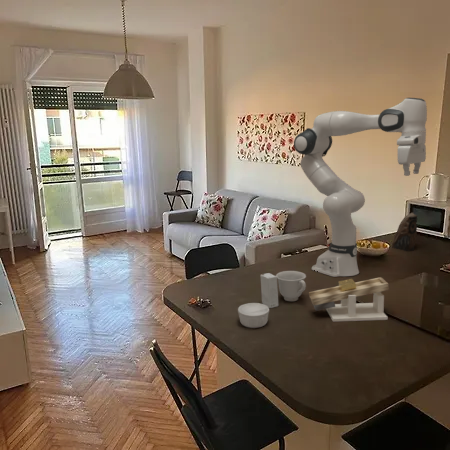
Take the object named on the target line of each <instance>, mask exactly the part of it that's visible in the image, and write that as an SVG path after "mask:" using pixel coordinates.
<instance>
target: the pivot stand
mask: <svg viewBox="0 0 450 450" xmlns="http://www.w3.org/2000/svg"><path fill="white" fill-rule="evenodd" d="M372 294H373V295H372V296H373V298H372V302H365V303H364V302H359V303H357V297H356V295H348V298H347V299H342V300H340V303H335V307H332V308H327V309H325V311H326V312H327V314H328V315H329V317H330V319H331V321H332V322H356V321H357V322H359V321H386V320H387V321H388V318H389V317H388V315H387V314H386V313H385V312H384V309H385V308H384V307H385V305H384V304H385V295H384V294H383V293H382V291H381V292H376V293H372Z"/></svg>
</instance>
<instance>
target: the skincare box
mask: <svg viewBox="0 0 450 450" xmlns="http://www.w3.org/2000/svg"><path fill="white" fill-rule="evenodd" d="M259 275H260V287H261V288H260V289H261V290H260V291H261V304H264V305H266V306H268V308H269V309H272V308H278V307H279V286H278V279H277V277H276V275H274V274H272V273H270V272H268V273H262V274H259Z"/></svg>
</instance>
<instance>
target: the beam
mask: <svg viewBox="0 0 450 450" xmlns="http://www.w3.org/2000/svg"><path fill="white" fill-rule="evenodd" d="M354 282H355V281H354ZM355 284H356V289H354V290H349V291H344V292H341V291H340V288H339V285H337V286H332V287H328V288H322V289H317V290H314V291H309V292H308V296H309V299H310V301H311V303H312V306H313V308H314V310H315V311H316V312H317V311H323V310H326V309H327V308H332V307H335V304H336V303H335V302H337V301H341V300H342V299H347V298H348V295H356V298H357V297H362V296H365V295H371V294H373V293H376V292H381V293H382V292H385V291H389V290H390V287H389V286H390V285H389V283H388V282H387V281H386V280H385V279H384V278H383V277H381V276H380V277H375V278H370V279H366V280H365V279H364V280H361V281H357V282H355Z"/></svg>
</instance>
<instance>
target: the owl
mask: <svg viewBox="0 0 450 450" xmlns="http://www.w3.org/2000/svg"><path fill="white" fill-rule="evenodd" d="M417 222H418V215H417V214H415V213H414V212H410V213H408V214H407V215H406V216H404V217H403V218H402V220H401V221H400V223H399V225H398V227H397V231H396V232H395V233H394V234H395V235H394V238H393V242H392V243H391V248H393V249H396V250H400V251H404V252H413V251H415V245H416V239H417V238H418V236H417V235H418V234H417V232H418V231H417V230H418V225H417Z"/></svg>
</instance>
